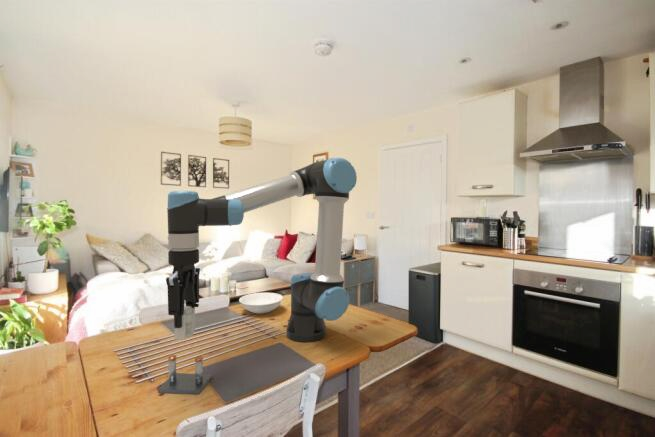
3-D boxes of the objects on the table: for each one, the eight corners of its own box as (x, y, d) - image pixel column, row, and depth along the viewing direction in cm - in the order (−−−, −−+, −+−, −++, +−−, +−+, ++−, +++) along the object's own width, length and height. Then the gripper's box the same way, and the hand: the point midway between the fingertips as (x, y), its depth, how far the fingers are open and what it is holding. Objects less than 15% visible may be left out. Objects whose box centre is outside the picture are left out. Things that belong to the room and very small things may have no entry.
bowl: (262, 322, 135) (262, 307, 134) (229, 314, 145) (229, 300, 145) (292, 309, 151) (291, 296, 151) (260, 302, 162) (260, 290, 162)
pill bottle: (179, 333, 89) (179, 305, 89) (195, 332, 90) (195, 305, 89) (173, 339, 85) (172, 310, 85) (190, 339, 85) (190, 310, 85)
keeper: (212, 377, 91) (211, 351, 91) (198, 394, 83) (198, 365, 83) (174, 376, 92) (173, 350, 92) (157, 392, 84) (157, 363, 84)
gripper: (186, 244, 95) (187, 322, 96) (150, 253, 78) (152, 348, 79) (211, 245, 95) (212, 323, 96) (180, 254, 77) (181, 349, 78)
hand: (185, 334), depth 87 cm, fingers closed on pill bottle, 4 cm apart
